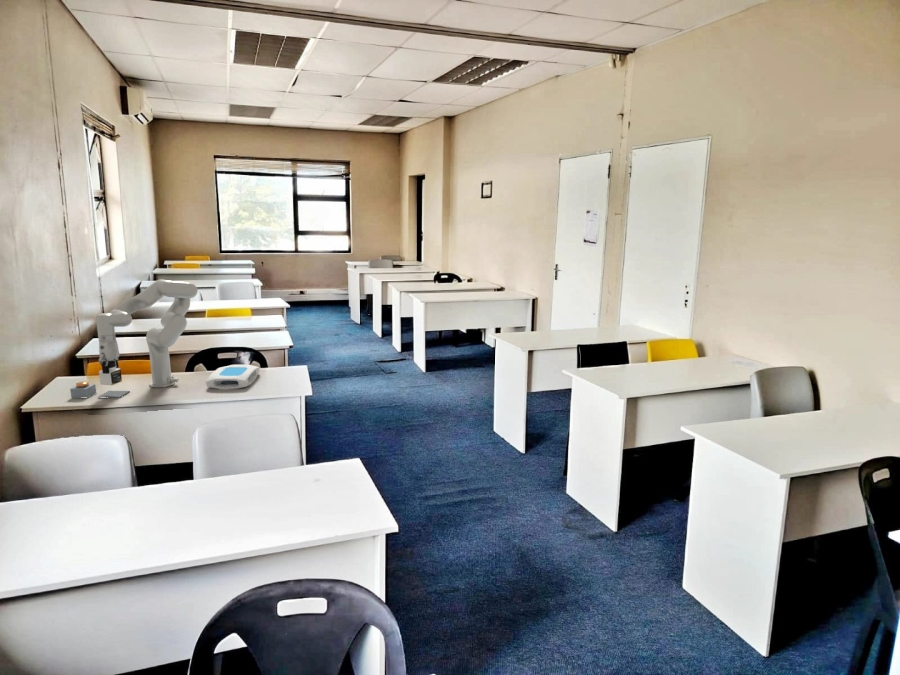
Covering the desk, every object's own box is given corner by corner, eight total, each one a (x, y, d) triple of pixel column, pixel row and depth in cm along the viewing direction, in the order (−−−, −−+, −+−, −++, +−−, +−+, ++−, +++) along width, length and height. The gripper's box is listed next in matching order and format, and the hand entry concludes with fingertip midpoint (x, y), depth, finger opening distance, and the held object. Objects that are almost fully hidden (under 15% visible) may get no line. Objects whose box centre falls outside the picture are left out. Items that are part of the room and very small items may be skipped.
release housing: (96, 393, 309) (95, 384, 308) (87, 398, 301) (85, 388, 300) (81, 393, 309) (79, 383, 308) (71, 398, 301) (70, 388, 300)
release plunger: (92, 393, 308) (91, 381, 306) (86, 397, 302) (84, 384, 301) (81, 393, 307) (80, 381, 306) (75, 397, 302) (73, 384, 301)
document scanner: (259, 374, 345) (259, 364, 344) (246, 389, 318) (245, 378, 317) (223, 374, 344) (222, 364, 343) (206, 389, 317) (205, 378, 316)
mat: (129, 392, 311) (129, 390, 311) (119, 398, 301) (119, 397, 301) (109, 392, 311) (108, 390, 310) (98, 398, 301) (97, 396, 301)
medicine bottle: (112, 385, 300) (109, 362, 297) (100, 384, 301) (97, 361, 299) (122, 381, 307) (119, 359, 304) (110, 380, 308) (107, 358, 306)
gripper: (104, 341, 290) (108, 376, 294) (123, 334, 307) (127, 366, 311) (89, 341, 290) (93, 375, 294) (109, 333, 307) (112, 366, 311)
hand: (110, 370), depth 303 cm, fingers closed on medicine bottle, 8 cm apart
